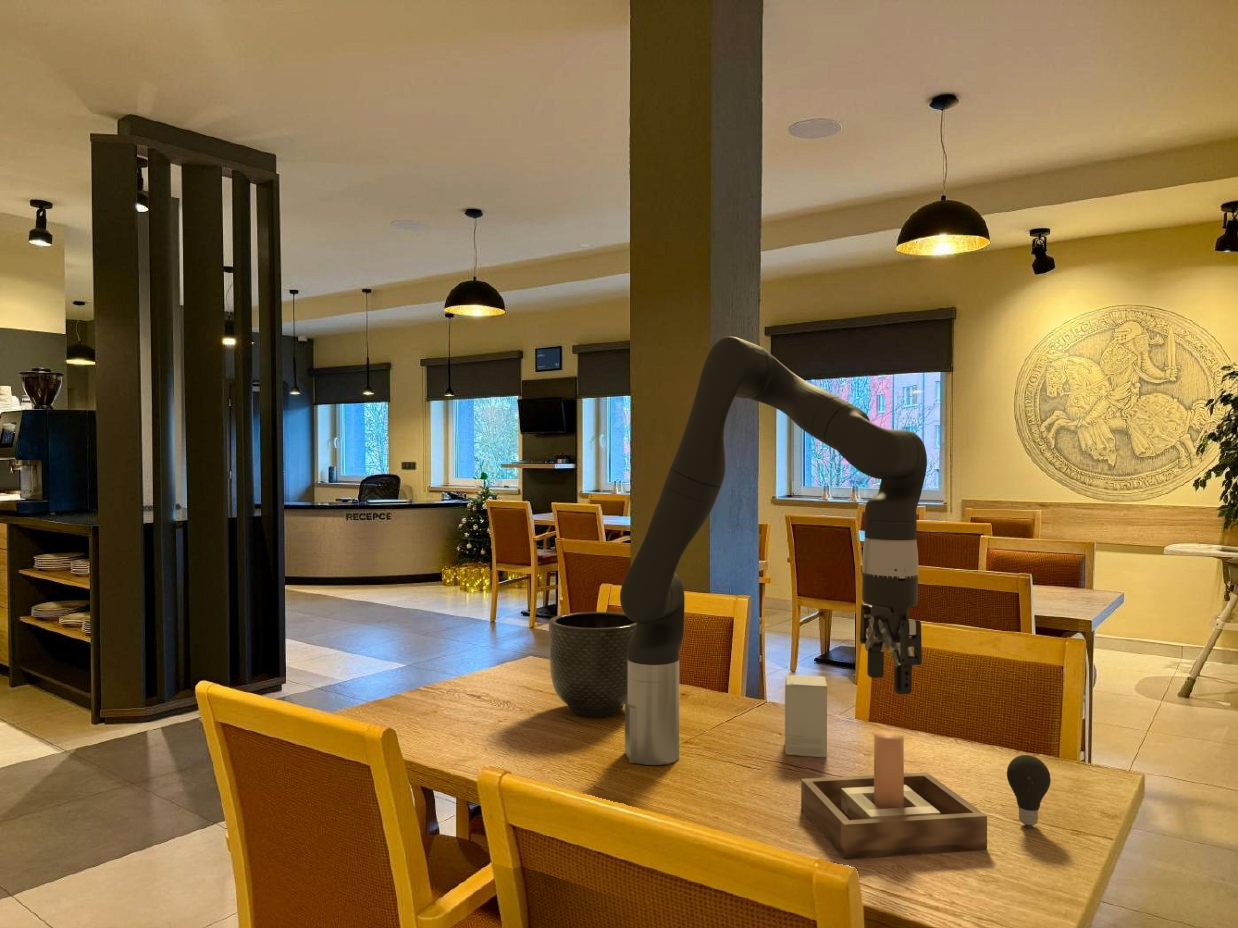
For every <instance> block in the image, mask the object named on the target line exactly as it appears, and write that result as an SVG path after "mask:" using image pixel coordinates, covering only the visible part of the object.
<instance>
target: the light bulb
mask: <svg viewBox="0 0 1238 928" xmlns="http://www.w3.org/2000/svg"><path fill="white" fill-rule="evenodd" d="M1006 778H1007V782H1008V784H1009V787H1010V789H1011V790H1012V792H1013V794H1014V796H1015V798H1016V804H1017V807H1018V820H1019V822H1021V823H1022V824H1024V826H1025V828H1033V826H1034V825H1037V824H1038V822H1039V811H1040V808H1041V802H1042V801H1043V798H1044V797H1045V795H1046V794H1047V792H1048V791H1049V790H1050V789H1049V788H1050V786H1051V781H1052V780H1051V774H1050V771H1049V768H1048V766H1047V765H1046V764H1045V763H1044V762H1043V761H1042V760H1041V759H1039V758H1038V757H1036V756H1035V755H1034V756H1033V755H1030V754H1021V755H1018V756H1016V757H1014V758H1013V759H1012V760H1011V761H1010V762H1009V764H1008V766H1007V768H1006Z"/></svg>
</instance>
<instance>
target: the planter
mask: <svg viewBox="0 0 1238 928" xmlns="http://www.w3.org/2000/svg"><path fill="white" fill-rule="evenodd" d="M636 624H637V623H635V622H633V621H631V620H630V619H628V617H627V616H626V615H625V614H624V612H623V613H622V612H612V611H609V612H608V611H583V612H581V611H580V612H573V613H571V612H570V613H565V614H560V615H556V616H554V617H551V618H550V619H549V622H548V651H549V652H548V653H549V667H550V678H551V683H552V686H553V689H554V692H555V693H556V695H557V696H558V698H559V699H560V700H561V701H562V702H563V703H565V705H567V707H568V710H569V711H570V712H571V713H572V714H573V715H575V716H579V717H581V718H591V719H594V718H595V719H597V718H598V719H599V718H602V719H603V718H607V717H612V716H613V717H614V716H615V715H618V714H620V713H621V712H622V710H623V709H624V707H625V699H627V646H628V643H629V641H630V639H631V638H632V636H633V634H634V632H635V629H636Z"/></svg>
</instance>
